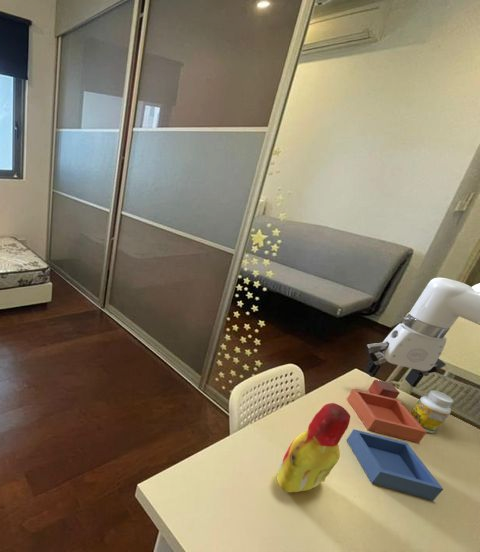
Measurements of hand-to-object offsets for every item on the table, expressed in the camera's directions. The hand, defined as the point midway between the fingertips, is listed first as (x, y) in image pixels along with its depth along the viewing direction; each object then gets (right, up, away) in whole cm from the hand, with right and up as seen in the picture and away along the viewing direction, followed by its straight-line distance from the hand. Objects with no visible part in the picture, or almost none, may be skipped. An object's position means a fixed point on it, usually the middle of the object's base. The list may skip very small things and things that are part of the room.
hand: (389, 378), depth 87 cm
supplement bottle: (+2, -10, -6) cm, 12 cm away
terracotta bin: (-8, -9, -6) cm, 13 cm away
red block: (0, -6, +2) cm, 6 cm away
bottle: (-41, -13, -23) cm, 49 cm away
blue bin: (-19, -13, -18) cm, 29 cm away
